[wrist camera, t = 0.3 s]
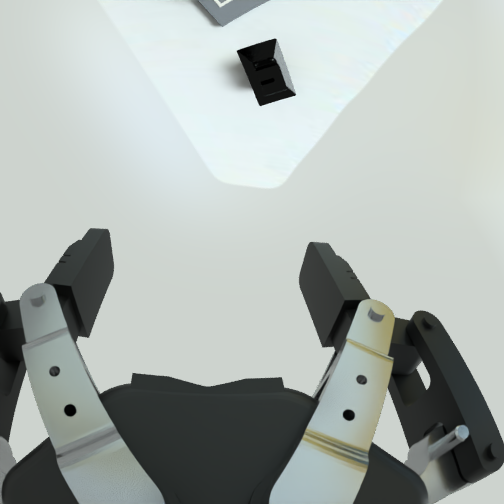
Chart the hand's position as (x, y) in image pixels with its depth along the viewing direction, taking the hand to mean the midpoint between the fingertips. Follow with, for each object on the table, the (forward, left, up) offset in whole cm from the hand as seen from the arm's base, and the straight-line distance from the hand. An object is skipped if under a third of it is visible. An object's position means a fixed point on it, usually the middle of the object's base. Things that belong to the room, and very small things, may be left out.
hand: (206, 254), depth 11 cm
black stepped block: (+5, +5, -31) cm, 32 cm away
